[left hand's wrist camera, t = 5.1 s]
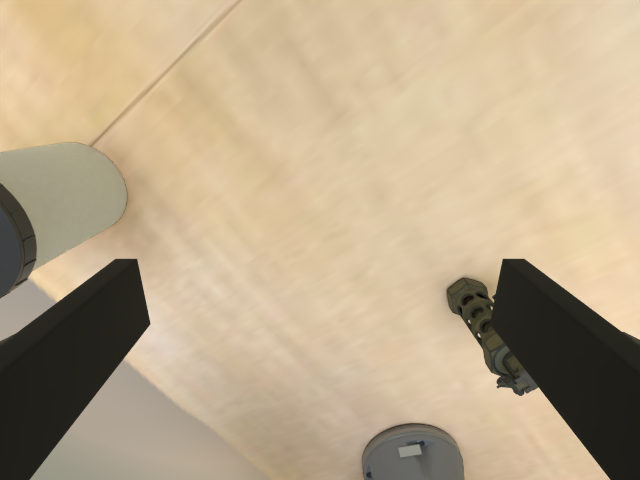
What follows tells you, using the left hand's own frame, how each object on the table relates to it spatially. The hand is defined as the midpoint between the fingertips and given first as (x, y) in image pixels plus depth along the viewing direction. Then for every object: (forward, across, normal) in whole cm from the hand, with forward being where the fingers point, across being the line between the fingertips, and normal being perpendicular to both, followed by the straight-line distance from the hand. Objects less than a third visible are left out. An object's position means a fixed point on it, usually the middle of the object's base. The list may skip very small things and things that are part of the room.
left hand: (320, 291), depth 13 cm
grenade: (+28, +20, -16) cm, 38 cm away
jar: (+28, -27, -2) cm, 39 cm away
